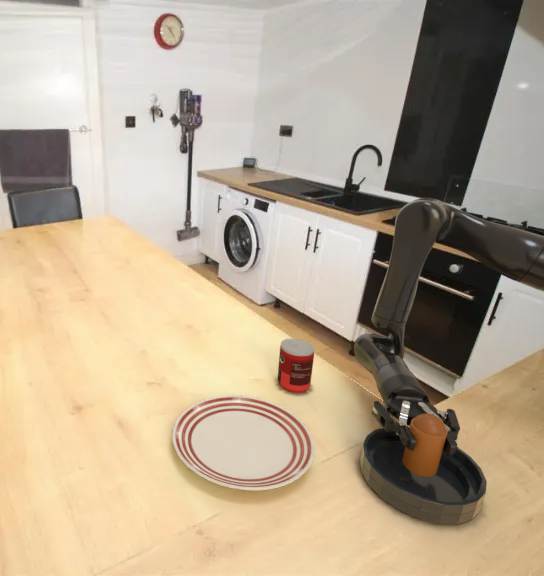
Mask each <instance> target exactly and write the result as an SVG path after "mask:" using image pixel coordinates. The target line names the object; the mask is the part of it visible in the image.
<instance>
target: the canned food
mask: <svg viewBox="0 0 544 576" xmlns="http://www.w3.org/2000/svg"><path fill="white" fill-rule="evenodd" d="M314 358H315V346H314V344H312V343H311V342H309V341H308V340H305V339H301V338H295V337H294V338H292V337H291V338H286V339H283V340H281V342H280V346H279V356H278V368H277V369H278V370H277V384H278V386H279V388H281V389H282V390H284V391H286V392H289V393H292V394H303V393H306V392H308V391H309V389H310V388H311V383H312V374H313V367H314V360H315V359H314Z"/></svg>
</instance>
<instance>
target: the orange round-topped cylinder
mask: <svg viewBox="0 0 544 576" xmlns="http://www.w3.org/2000/svg"><path fill="white" fill-rule="evenodd" d="M409 428H410V431H411V432H412V434H413V436H414V438H415V441H416V444H415V448H414V450H408V448H407V447H405V450H404V454H403V458H402V462H403V464H404V466H405V467H406V468H407V469H408V470H410V471H411V472H413V473H415V474H417V475H420V476H424V477H431V476H434V475H435V474H436V473H437V469H438V465H439V462H440V458H441V455H442V451H443V447H444V444H445V440H446V436H447V429H446V427H445V425H444V423H443V421H441V420H440V419H439V418H438V417H436V416H435V415H432V414H420V415H418V416H416V417H415V418H413V419H412V420H411V424H410V426H409Z"/></svg>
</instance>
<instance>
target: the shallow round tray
mask: <svg viewBox="0 0 544 576" xmlns="http://www.w3.org/2000/svg"><path fill="white" fill-rule="evenodd" d="M404 450H405V446H404V445H403V444H402V442H401V439H400V437H399V435H397V434H396V432H393V431H392V432H386V431H385V430H384V429H383V428H382V427H380V428H375V429H374V430H372V431H371V432H370V433H368V434H367V435H366V437H365V439H364V441H363V443H362V448H361V452H360V459H359V463H360V472H361V474H362V476H363V478H364V479H365V482H366V484H367V485H368V486H369V488H371V489H372V490H373V491H374V492H375V493H376V495H377V496H378V497H379V498H381V499H382V500H383V501H384V502H386V503H388V504H389V505H390V506H392V507H394V508H395V509H396V510H398V511H401V512H403V513H405V514H407V515H409V516H411V517H413V518H416V519H418V520H421V521H422V520H423V521H426V522H430V523H434V524H437V525H459V524H463V523H466V522H468V521H471V520H473V519H474V518H475V517H476V516H477V515H478V513H479V512H480V511H481V509H482V505H483V502H484V499H485V496H486V494H487V485H488V483H487V482H488V481H487V479H486V477H485V473H484V472H483V470H482V468H481V467H480V466H479V465H478V463H477V462H476V461H475V460H474V459H473V458H472V456H470V455H469V454H468V453H467V452H465V451H464V450H462V449H461V448H460V447H458V446H457V449H456V452H455V453H454V455H453V456H451V455H447V454H446V452H445V450H444V448H443V451H442V455H441V458H440V462H439V465H438V469H437V473H436V474H435V475H434V476H431V477H424V476H420V475H417V474H415V473H413V472H411V471H410V470H408V469H407V468H406V467H405V466H404V464H403V462H402V458H403V454H404Z"/></svg>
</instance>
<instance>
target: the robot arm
mask: <svg viewBox="0 0 544 576" xmlns="http://www.w3.org/2000/svg"><path fill="white" fill-rule="evenodd" d="M435 244H438V245H441V246H445V247H448V248H451V249H454V250H457V251H458V252H459V251H460V253H463V254H465V255H467V256H469V257H471V258H473V259H475V260H476V261H477V262H479V263H481V264H482V265H484V266H486V267H487V268H489V269H490V270H492V271H494V272H496V273H497V274H500V275H502V276H503V277H506V278H507V279H509V280H511V281H514V282H517V283H519V284H521V285H525V286H527V287H529V288H532V289H535V290H537V291H541V292H543V293H544V235H541V234H537V233H534V232H532V231H531V232H530V231H527V230H525V229H521V228H517V227H513V226H509V225H505V224H501V223H496V222H493V221H489V220H486V219H483V218H480V217H477V216H475V215H473V214H470V213H468V212H465V211H463V210H461V209H458V208H456V207H454V206H452V205H450V204H448V203H446V202H443V201H441V200H439V199H437V198H433V197H420V198H416V199H414V200H412V201H410V202H408V203H406V204H405V205H404V206H403V207H401V209H399V210H398V213H397V214H396V217H395V221H394V232H393V240H392V249H391V253H390V257H389V262H388V267H387V269H386V273H385V276H384V279H383V282H382V285H381V288H380V290H379V294H378V296H377V299H376V303H375V306H374V309H373V311H372V316H371V323H372V325H373V326H374V327H375V328H377V329H379V330H381V331H383V332H386V333H388V336H385V335H378V334H373V333H363V334H360V335H358V336H357V337H356V338H355V341H354V343H353V352H354V356H355V358H356V360H357V361H358V363H359V364H360V365H361V366H362V367H363V368H364V369H365V370H366V371H367V372H369V373H370V374H371V375H372V376H373V379H374V381H375V383H376V387H377V391H378V393H379V395H380V397H381V399H382V401H383V404H382V403H381V402H380V401H379V400H374V401H373V403H372V409H371V414H372V416H373V417H374V418H375V420H376V421H377V422H378V424H379V425H380V427H381V428H383V429H384V430H385V431H386V432H392V431H393V432H396V434H397V435H399V437H400V439H401V442H402V444H403V445H404V446H405V447H407V448H408V450H414V448H415V444H416V441H415V438H414V436H413V434H412V432H411V431H410V424H411V420H412V419H413V418H415V417H416V416H418V415H420V414H432V415H435V416H436V417H438V418H439V419H440V420H441V421H442V422H443V423H444V425H445V427H446V429H447V436H446V440H445V444H444V447H443V448H444V450H445V452H446V454H447V455H451V456H453V455H454V453H455V452H456V449H457V447H458V443H457V440H458V436H459V433H460V430H461V426H460V423H459V419H458V417H457V415H456V414H457V413H456V411H455V410H454V409H452V408H447V409H446V411H443V410H439V409H437V408H436V406H434V405H433V404H431V402H430V398H429V396H428V394H427V393H426V391H425V389H424V388H423V386H422V384H421V383H420V382H419V380H418V378H417V377H416V375H415V374H414V373H413V372H412V371H411V369H410V368H409V366H408V365H407V363H406V362H405V360H404V357H405V332H406V326H407V325H406V324H407V322H408V320H409V317H410V313H411V311H412V308H413V304H414V301H415V298H416V294H417V289H418V285H419V280H420V277H421V273H422V270H423V267H424V264H425V262H426V260H427V258H428V255H429V254H430V252H431V250H432V249H433V247H434V245H435ZM394 418H395V419H396V420H398V421H396V420H395V419H394Z"/></svg>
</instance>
